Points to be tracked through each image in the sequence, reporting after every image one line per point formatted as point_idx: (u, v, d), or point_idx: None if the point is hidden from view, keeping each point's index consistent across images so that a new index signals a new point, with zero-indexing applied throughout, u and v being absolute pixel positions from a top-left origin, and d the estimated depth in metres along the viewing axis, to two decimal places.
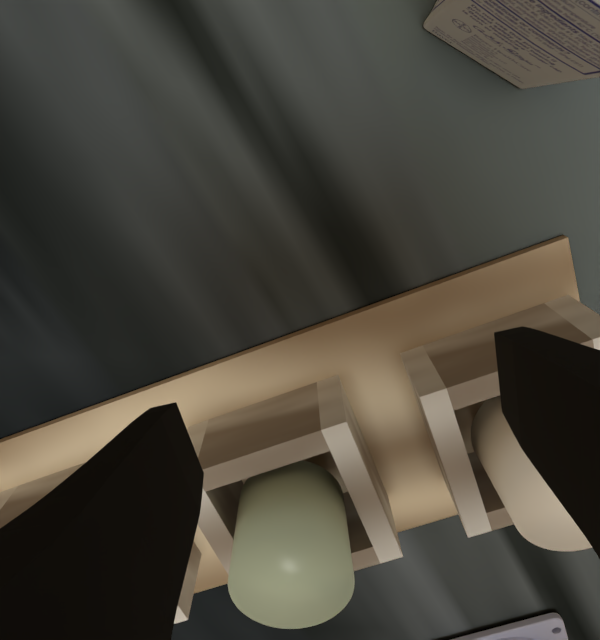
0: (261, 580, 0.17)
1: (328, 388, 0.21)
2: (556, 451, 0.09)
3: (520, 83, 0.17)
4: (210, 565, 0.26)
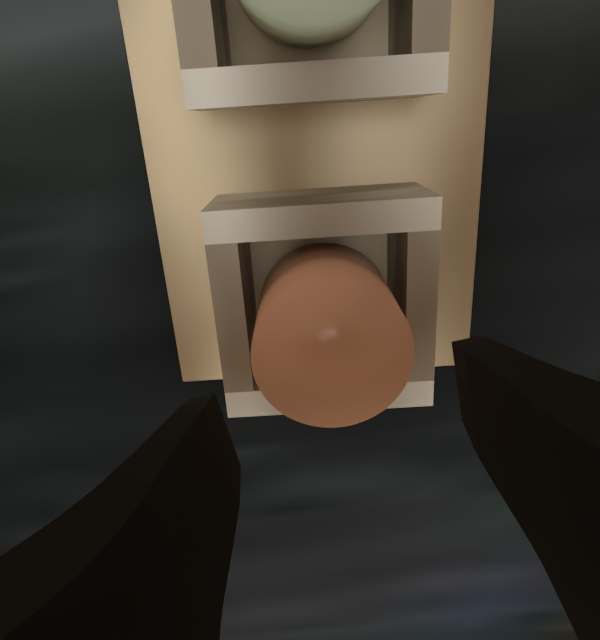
0: None
1: None
2: (505, 461, 0.09)
3: None
4: (439, 178, 0.18)
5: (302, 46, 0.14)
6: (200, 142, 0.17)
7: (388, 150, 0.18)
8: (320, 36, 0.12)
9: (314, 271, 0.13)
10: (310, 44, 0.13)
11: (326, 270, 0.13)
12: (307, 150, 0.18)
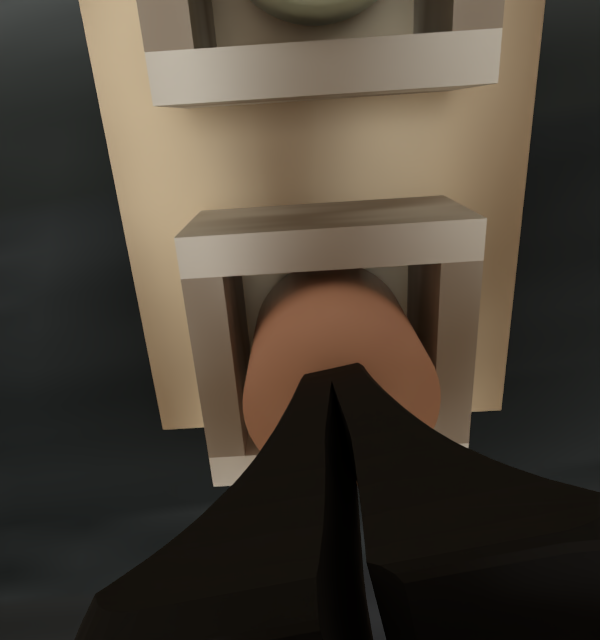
0: None
1: None
2: None
3: None
4: (474, 190, 0.15)
5: (306, 22, 0.10)
6: (179, 146, 0.14)
7: (412, 156, 0.14)
8: (331, 4, 0.09)
9: (320, 302, 0.11)
10: (317, 18, 0.10)
11: (334, 301, 0.11)
12: (311, 156, 0.14)
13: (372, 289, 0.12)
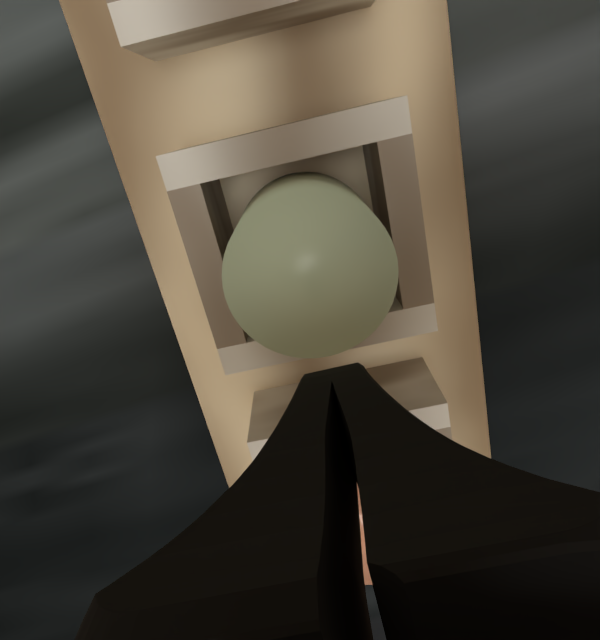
0: (295, 316, 0.13)
1: None
2: None
3: None
4: (443, 351, 0.21)
5: None
6: None
7: None
8: None
9: None
10: None
11: None
12: None
13: None
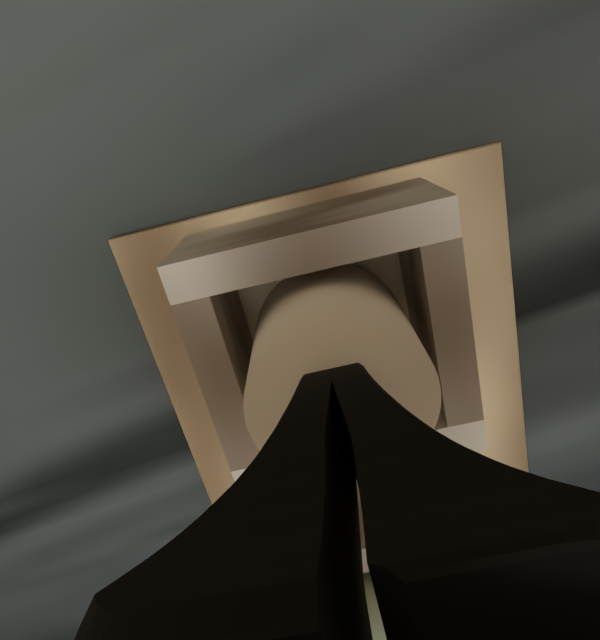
0: None
1: None
2: None
3: None
4: None
5: None
6: None
7: None
8: None
9: None
10: None
11: None
12: None
13: None
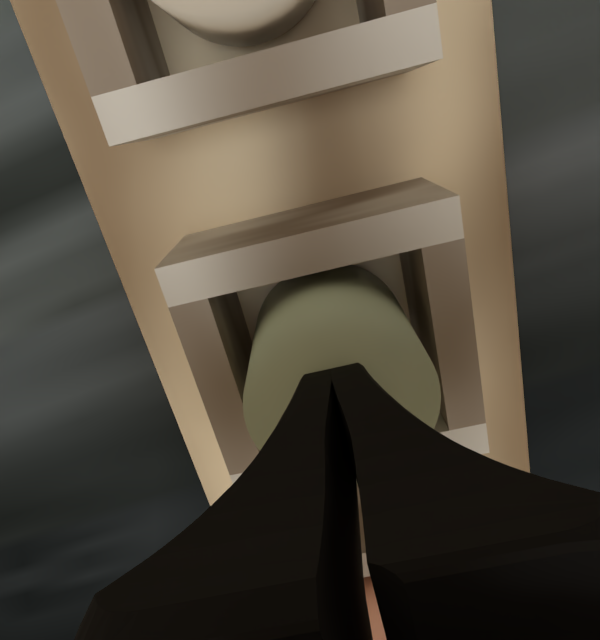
0: None
1: None
2: None
3: None
4: None
5: None
6: None
7: None
8: None
9: None
10: None
11: None
12: None
13: None
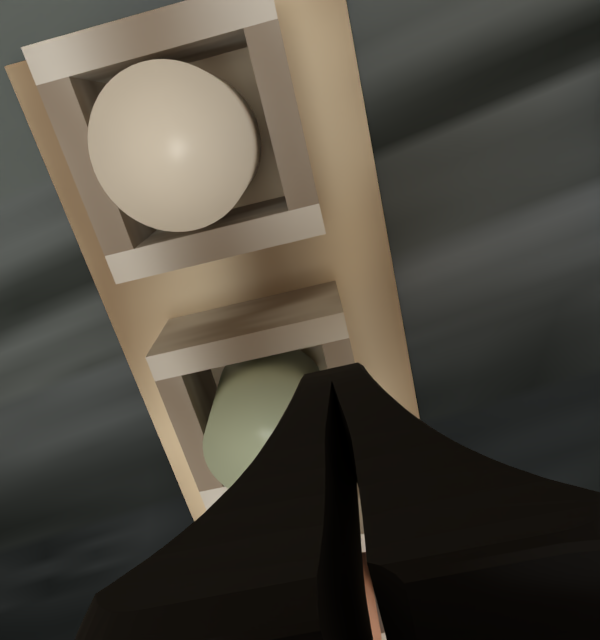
0: None
1: None
2: None
3: None
4: None
5: None
6: None
7: None
8: None
9: None
10: None
11: None
12: None
13: None
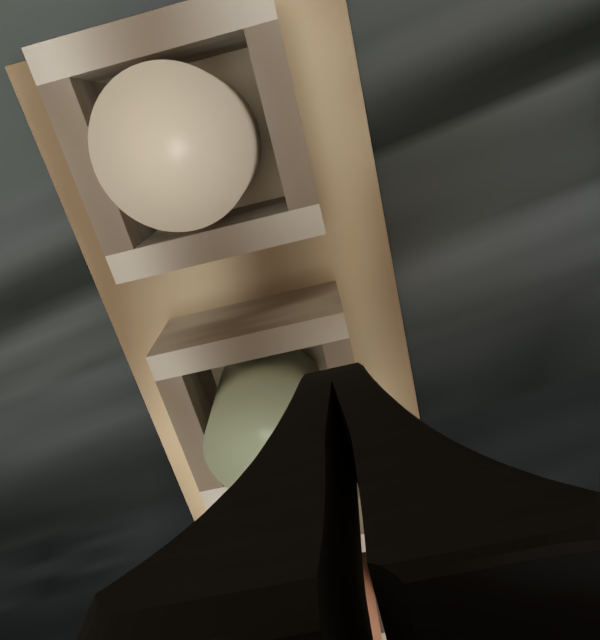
0: None
1: None
2: None
3: None
4: None
5: None
6: None
7: None
8: None
9: None
10: None
11: None
12: None
13: None
